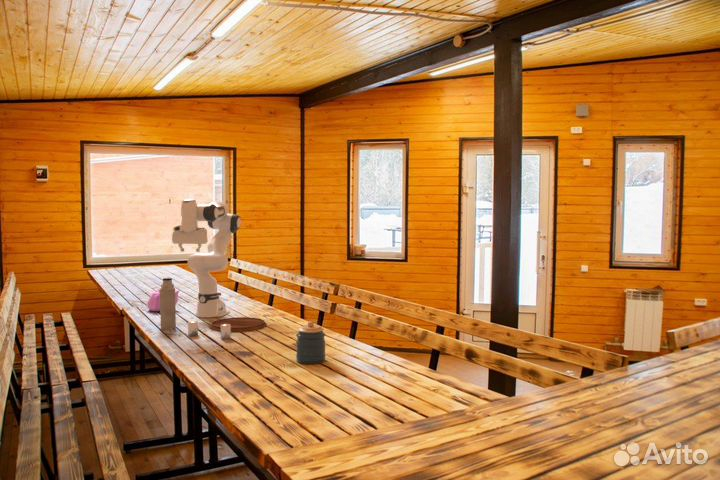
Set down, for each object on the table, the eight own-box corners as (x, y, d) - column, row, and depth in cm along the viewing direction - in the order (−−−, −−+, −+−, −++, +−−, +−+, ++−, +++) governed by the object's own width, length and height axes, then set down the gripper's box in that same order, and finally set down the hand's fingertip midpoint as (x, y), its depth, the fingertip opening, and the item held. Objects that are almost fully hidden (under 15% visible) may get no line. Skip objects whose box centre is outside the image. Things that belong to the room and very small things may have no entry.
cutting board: (253, 334, 299) (253, 329, 299) (198, 331, 306) (198, 327, 305) (274, 322, 331) (274, 318, 330) (224, 320, 337) (224, 315, 337)
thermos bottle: (164, 326, 317) (163, 277, 315) (178, 326, 316) (177, 277, 314) (158, 329, 309) (157, 279, 307) (172, 329, 308) (171, 279, 307)
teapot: (175, 313, 356) (175, 291, 355) (141, 313, 356) (141, 291, 355) (186, 307, 377) (186, 286, 377) (154, 307, 378) (154, 286, 377)
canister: (310, 355, 256) (310, 317, 255) (331, 360, 248) (331, 320, 247) (290, 361, 246) (289, 321, 245) (311, 366, 238) (311, 325, 237)
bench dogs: (192, 333, 298) (192, 320, 298) (232, 337, 290) (232, 324, 289) (186, 335, 294) (186, 322, 293) (227, 339, 285) (227, 326, 285)
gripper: (209, 227, 321) (209, 251, 322) (175, 227, 324) (176, 250, 325) (204, 227, 315) (205, 252, 316) (170, 227, 317) (171, 251, 318)
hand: (190, 251), depth 320 cm, fingers open, 8 cm apart
